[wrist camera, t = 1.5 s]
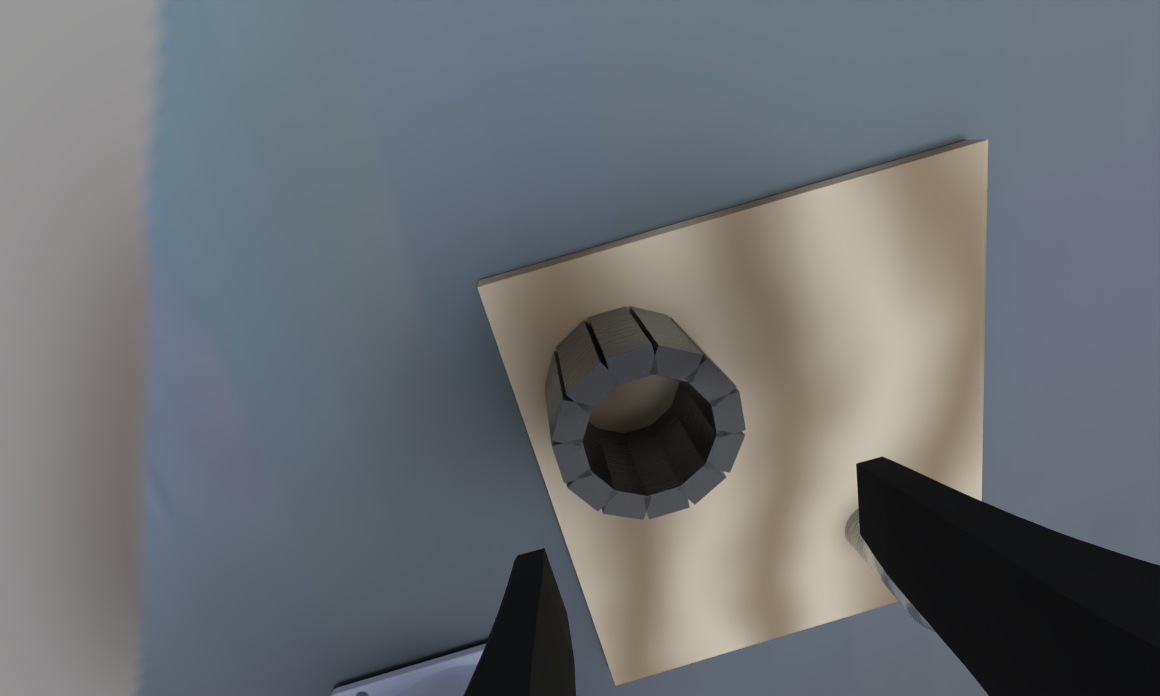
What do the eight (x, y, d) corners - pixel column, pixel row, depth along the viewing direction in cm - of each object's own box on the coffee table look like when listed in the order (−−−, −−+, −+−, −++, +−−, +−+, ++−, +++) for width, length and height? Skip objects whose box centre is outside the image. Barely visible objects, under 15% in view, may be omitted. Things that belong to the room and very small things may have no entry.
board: (612, 666, 26) (615, 685, 25) (478, 280, 19) (477, 287, 18) (963, 561, 27) (980, 576, 26) (965, 140, 19) (988, 139, 18)
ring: (570, 469, 21) (582, 539, 17) (527, 334, 19) (529, 381, 15) (713, 427, 21) (755, 488, 17) (685, 288, 19) (727, 323, 15)
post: (847, 555, 24) (932, 660, 19) (842, 510, 23) (930, 607, 18) (902, 539, 24) (1001, 639, 19) (900, 492, 23) (1003, 585, 18)
